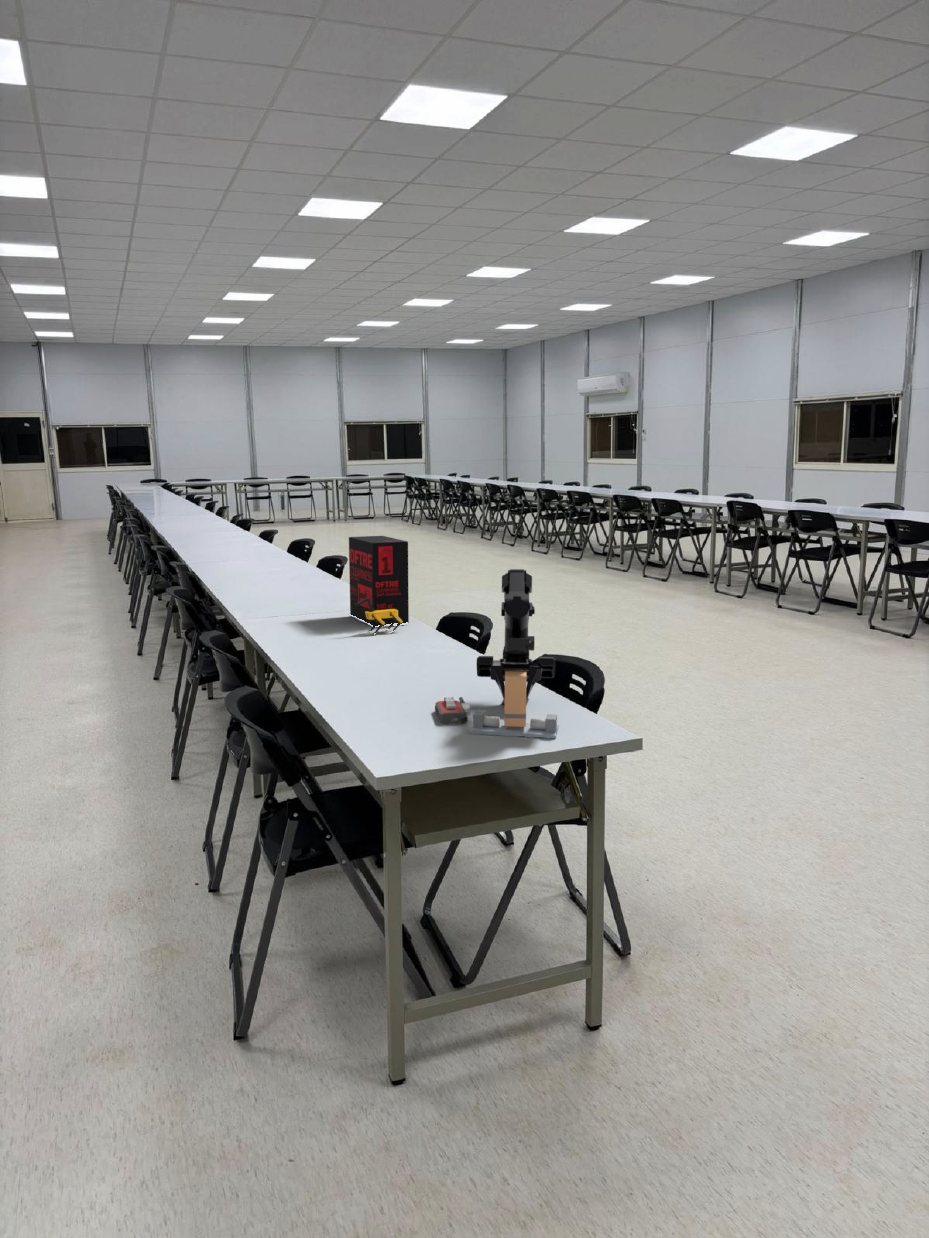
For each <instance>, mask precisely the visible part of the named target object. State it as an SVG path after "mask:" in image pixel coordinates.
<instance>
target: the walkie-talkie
mask: <svg viewBox="0 0 929 1238" xmlns="http://www.w3.org/2000/svg"><path fill="white" fill-rule="evenodd" d="M434 711H435V714H436V716H438V717H437V719H438V722H440V723H439V724H442V725H448V724H449V725H450V724H451V725H453V723H455V724H465V723H467V722H468V721H469V718H468V716H470V715H471V707H470V703H468V702H465V700H464V698H463V696H460V697H458V700H455V699H454V697H453V696H449V697H447V696H446V697H444V698H443V700H439V701H436V702H435V705H434ZM455 724H454V725H455Z"/></svg>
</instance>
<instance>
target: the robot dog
mask: <svg viewBox="0 0 929 1238" xmlns="http://www.w3.org/2000/svg"><path fill="white" fill-rule="evenodd" d="M366 601H367V602H368V605H369V607H370V609H369V611H366V612H365V614H366V618H367V619H369V620H372V619H373V620H374V621H375V622H376V624H375V625H374V626H373V627H371V628H370V629H369V631H371V632H372V631H373V630H374V629H376V630H374V632H373V633H376V634H377V633H378V632H379V630H380V629H381V628H383V627H382V626H384V625H385V623H384V621H382V620H381V619H382V618H392V619H393V620H394V621H393V623H392V624H391V625H390V626H389V627H387V629H389V630H391V628H392V627H394V628H393V629H392V630H393V631H394V630H395V631H396V629H398V627H400V626H399V625H400V624H402V623H403V621H402V620H401V619H400V618H399V617H398V610H396V609H387V610H376V611H374V608H373V607H372V604H371V602H370V600H369V598H366V599H364V600H362V601H360V602H358V603H355V604H354V605H355V606H357V605H360V604H362V603H364V602H366ZM397 621H398V622H399V623H398V624H397V626H393V624H394V623H395V622H397ZM379 623H380V624H381V625H380V626H379V627H378V628H375V626H376V625H377V624H379ZM395 631H394V632H395Z"/></svg>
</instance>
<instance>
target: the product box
mask: <svg viewBox="0 0 929 1238" xmlns="http://www.w3.org/2000/svg"><path fill="white" fill-rule="evenodd" d="M348 560H349V561H348V563H349V564H348V566H349V568H348V569H349V571H348V572H349V614H351V615H353V616H356V617H357V618H359V619H362V620H364V621H365V622H367V623H370V624H371V625H373V626H374V625H375V624H376V622H375V621H374V620H373V619H372V620H369V619H367V618H366V614H365V612H366V611H369V609H370V607H369V605H368V602H367V601H366V602H364V603H362V604H360V605H357V606H355V605H354V604H355V603H358V602H360V601H362V600H364V599H366V598H369V600H370V602H371V604H372V607H373V608H374V611H376V610H387V609H396V610H398V617H399V618H400V619H401V620H402V621H403V623H406V622H408V623H409V621H410V620H409V619H410V618H409V617H410V615H409V613H410V612H409V601H410V600H409V541H407V540H403V539H399V538H398V539H397V538H395V537H389V536H386V535H368V536H366V535H365V536H364V535H363V536H349V537H348ZM381 620H382V621H384V623H385V625H386V624H391V623H393V621H394V620H393V619H392V618H382V619H381ZM395 623H399V622H398V621H397V622H395ZM378 625H381V624H380V623H379V624H377V625H376V626H378Z"/></svg>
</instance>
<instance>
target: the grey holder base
mask: <svg viewBox="0 0 929 1238" xmlns="http://www.w3.org/2000/svg"><path fill="white" fill-rule="evenodd" d="M486 713H487V711H486V710H480V709H475V710H474V712H473V714H472V727H471V728H470V733H469V734H470V735H471V734H473V735H488V736H489V735H491V736H504V737H505V736H506V737H518V736H525V737H524V738H534V737H544V738H543V739H546V738H545V737H549V738H548V739H550V738H556V739H557V736H556V735H558V731H559V725H558V714H553V713H552V714H551V713H547V714H546V717H545V719H543V718H542V719H541V718H530V722H528V723H527V722H526V727H519V726H504V721H501V717H500V716H493V715H491V716H488V715H487V714H486Z"/></svg>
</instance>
